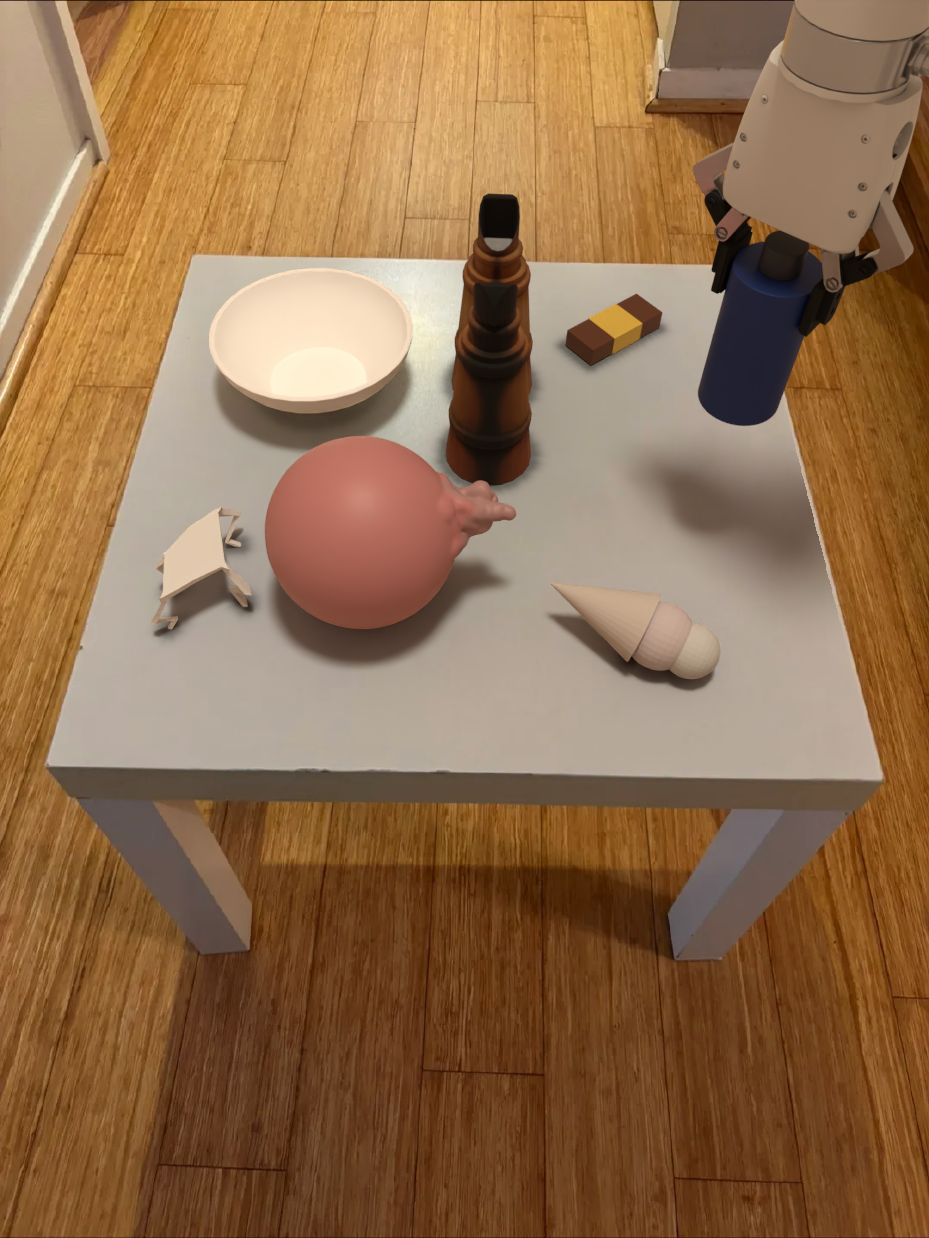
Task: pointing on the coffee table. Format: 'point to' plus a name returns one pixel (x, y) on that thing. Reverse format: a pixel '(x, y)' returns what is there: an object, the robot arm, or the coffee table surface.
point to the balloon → (370, 530)
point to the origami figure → (198, 560)
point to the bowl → (311, 339)
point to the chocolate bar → (613, 329)
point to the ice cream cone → (646, 629)
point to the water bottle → (758, 329)
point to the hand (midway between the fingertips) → (768, 303)
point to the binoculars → (493, 353)
